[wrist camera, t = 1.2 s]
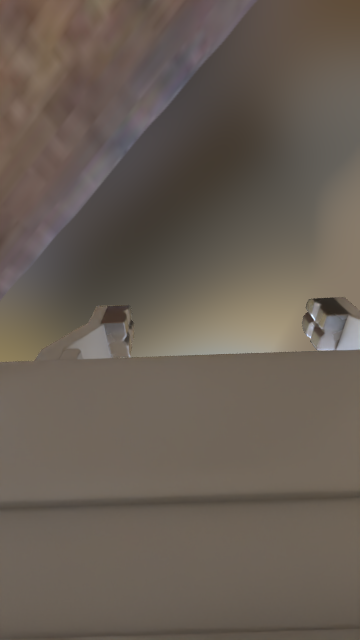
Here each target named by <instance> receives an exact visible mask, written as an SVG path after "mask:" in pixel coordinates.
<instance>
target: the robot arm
mask: <svg viewBox="0 0 360 640" xmlns="http://www.w3.org/2000/svg"><path fill="white" fill-rule="evenodd" d="M306 309H307V311H308V312H307V313H306V314H305V315H304V316H303V321H302V324H303V325H302V326H303V330H304V333H305V334H306V335H307V336H309V337H311V340H310V342H311V343H312V344H313V346H314V347H315V349H316V350H330V351H302V352H276V353H275V352H274V353H247V354H246V353H245V354H216V355H188V356H159V357H132V358H120V357H130V355H131V350H132V344H131V343H132V342H133V340H134V323H133V321H132V320H131V316H132V310H131V306H130V305H121V306H120V305H119V306H97V307H96V309H95V311H94V313H93V315H92V317H91V319H90V321H89V323H88V324H87V325H86V324H85V325H83V326H81V327H79V328H78V329H76V330H74V331H73V332H71V333H69V334H67V335H66V336H64V337H62V338H60V339H59V340H57V341H55V342H53V343H52V344H50V345H49V346H46V347H45V348H43V349H42V350H41V351H40V353H39V354H38V356H37V357H36V359H35V360H34V361H18V362H0V640H360V310H358V309H357V308H356V307H355V306H354V305H353V304H352V303H351V302H349V301H348V300H347V299H346V298H344V297H335V298H317V299H309V300H308V302H307V304H306Z"/></svg>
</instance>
